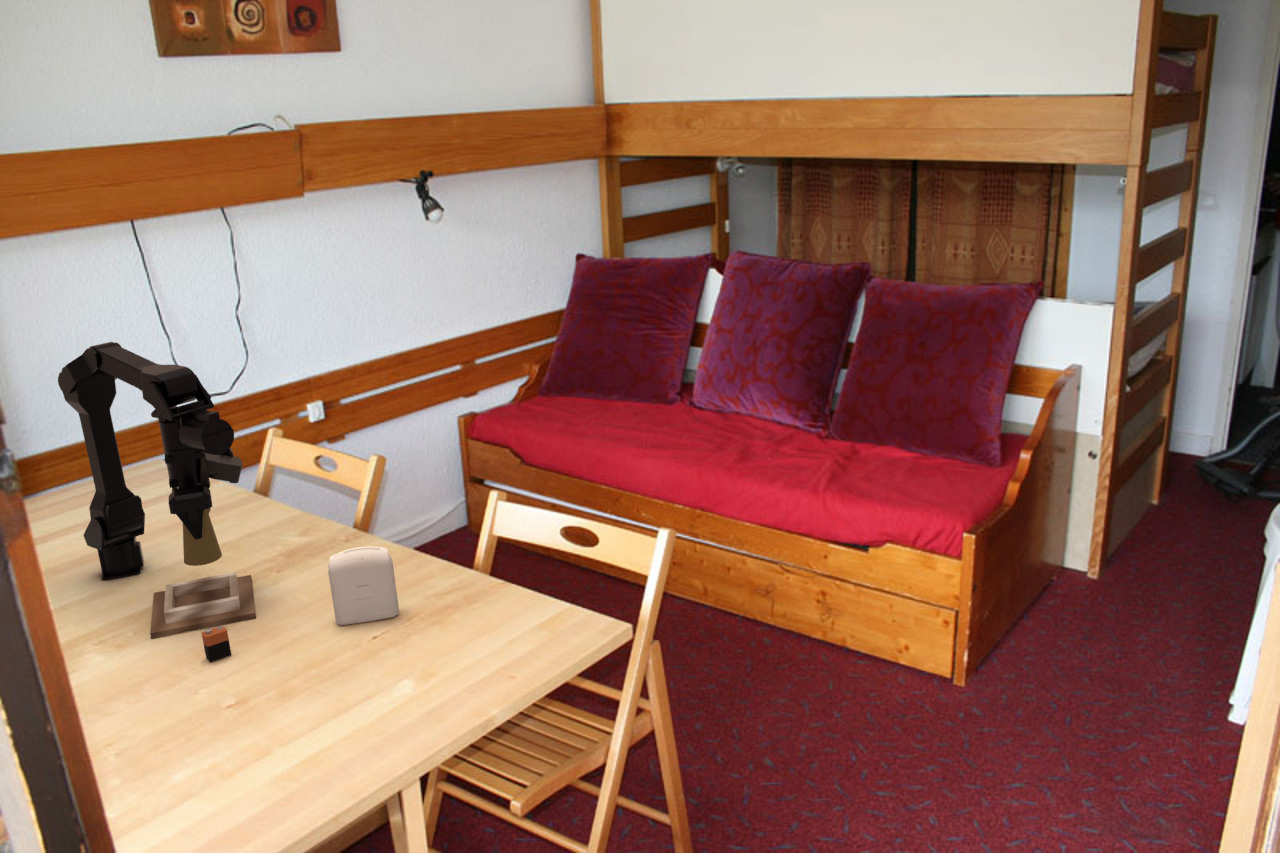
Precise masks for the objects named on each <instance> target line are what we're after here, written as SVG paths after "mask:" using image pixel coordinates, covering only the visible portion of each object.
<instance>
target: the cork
mask: <svg viewBox="0 0 1280 853" xmlns="http://www.w3.org/2000/svg"><path fill="white" fill-rule="evenodd" d="M211 508H212V507H211ZM211 508H209V509H205V510H204V511H203V527H202V538H201V539H194V537H193V536H192V535H191V533H190V532H189V531H188V529H187V528H186V526H185V525H184V524H183V523H182V542H183V543H182V546H183V563H184V565H187V566H193V567H197V566H199V567H200V566H204V565H206V566H207V565H208V564H212V563H214V562H216V561H218V560H220V559H221V558H222V556H223V553H222V551H221V548H220V543H219V542H218V537H217V535H216V533H215V529H214V526H213V523H212V520H211V517H210V512H211Z"/></svg>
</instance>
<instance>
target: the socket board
mask: <svg viewBox="0 0 1280 853" xmlns="http://www.w3.org/2000/svg"><path fill="white" fill-rule="evenodd" d="M255 603H256V602H255V596H254V588H253V578H252V574H249V575H247V574H246V575H242V576H238V575H237V572H236V571H235V572H230V573H224V574H219V575H213V576H208V577H202V578H197V579H190V580H185V581H180V582H174V583H169V584H165V590H160V591H156V592H153V596H152V607H151V620H150V628H149V631H150V632H149V635H150V639H151V640H154V639H157V638H159V639H160V638H163V637H164V638H165V637H167V636H173V635H178V634H183V633H189V632H194V631H198V630H203V629H204V630H205V629H208V628H215V627H217V626H220V625H222V626H224V625H228V624H235V623H239V622H244V621H249V620H253V619H257V615H256V613H257V612H256V604H255Z"/></svg>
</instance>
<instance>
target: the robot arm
mask: <svg viewBox="0 0 1280 853" xmlns="http://www.w3.org/2000/svg"><path fill="white" fill-rule="evenodd" d="M116 380H120V381H122V382H124V383H126V384H129V385H130V386H132V387H134V388H136V389H138V390H139V391H141V392H142V399H143V400H144V401H146V403H148V404H150V405H151V406H152V407H153V408H154V410H153V411H152V412H151V414H150V416H151V417H152V418H154V419H158V424H159V429H160V430H159V431H160V435H161V440H162V441H161V442H162V447H163V453H164V462H165V465H166V469H167V473H168V474H167V475H168V486H169V489H171V492H170V493H169V495H168V508H169V514H170V515H176V516H177V517H178V518H179V520H180V522H182V525H183V524H184V525H185V526H186V528H187V529H188V531H189V532H190V533H191V535H192V536H193V537H194V539H201V538H202V527H203V511H204V510H205V509H209V508H213V499H212V495H211V494H212V493H211V489H210V487H211V481H210V479H212V480H217V481H224V482H229V483H230V484H238V483H239V481H240V477H241V472H242V469H243V461H242V459H241V458H239V456H237V455H236V456H235V455H234V452H233V448H231V447H232V445H233V443H234V439H235V430H234V429H233V428H232V426H231V424H230V423H229V422H228V421H227V420H224V419H221V417H220V413H219V411H217V410H212V409H214V408H215V404H214V402H213V401H212V396H211V394H210V393H209V392H208V391H207V389H206V388H205V387H204V385H203V384H202V382H201V381H200V379H199V378H198V376H197V374H195V372H194V371H193V370H192V369H191V368H189V367H188V366H185V365H180V364H179V365H178V364H160V363H156V362H154V361H151V360H149V359H147V358H145V357H143V356H141V355H139V354H136V353H134V352H132V351H130V350H128V349H126V348H124V347H122V346H121V344H120V343H118V342H114V341H113V342H112V341H108V342H105V343H98V344H95V345H91V346H89V347H88V348H86V349H85V350H84V351H83V353H82V354H81V355H79V356H77V357H76V358H75V359H73V360H72V361H70V362H69V363H66V365H65V366H64V367H63V368H62V369H61V371H60V372H59V373H58V376H57V383H58V386H59V389H60V391H61V392H62V393H63V398H64V401H65V402H66V403H67V404H68V405H69V406H70V407H72V409H74V410H75V411H76V413H78V417H79V422H80V426H81V430H82V433H83V434H82V435H83V438H84V443H85V447H86V452H87V457H88V462H89V465H90V466H89V467H90V471H91V474H92V475H91V476H92V480H93V483H94V488H95V492H94V495H93V497H92V500H91V502H90V505H89V515H90V520H89V523H88V525H87V527H86V528H85V531H84V533H83V534H82V535H83V538H84V540H85V543H86V545H87V546H88V547H90V548H93V549H95V550H97V554H98V555H97V556H98V558H99V559H98V560H99V564H100V568H101V576H100V578H101V580H102V581H106V580H111V579H117V578H123V577H129V576H134V575H139V574H141V573H142V567H143V566H144V564H145V561H144V560H145V559H144V555H143V549H142V544H141V541H140V540H138V541H137V538H136V537H139V536H143V535H145V526H146V525H145V524H146V512H145V511H144V508H143V502H142V498H141V497H140V496H139V495H135V493H134V492H132V491H131V489H129V487H127V485H126V480H125V474H124V469H123V465H122V461H121V455H120V451H119V446H118V442H117V437H116V433H115V428H114V423H113V418H112V414H111V407H112V405H113V403H114V400H115V399H116V395H117V386H116ZM195 400H196V401H195Z"/></svg>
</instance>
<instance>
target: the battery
mask: <svg viewBox="0 0 1280 853" xmlns="http://www.w3.org/2000/svg"><path fill="white" fill-rule="evenodd" d="M201 638H202V643H203V649H204V655H205V658H206V660H207V661H208V662H209V663H213V662H217V661H219V660H223V659H225V658H228V657H231V656H232V651H231V645H230V639H229V638H230V637H229V633H228V629H227V628H226V627H225V626H224V625H219V626H215V627H209V628H205V629H204V631H202V632H201Z"/></svg>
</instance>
